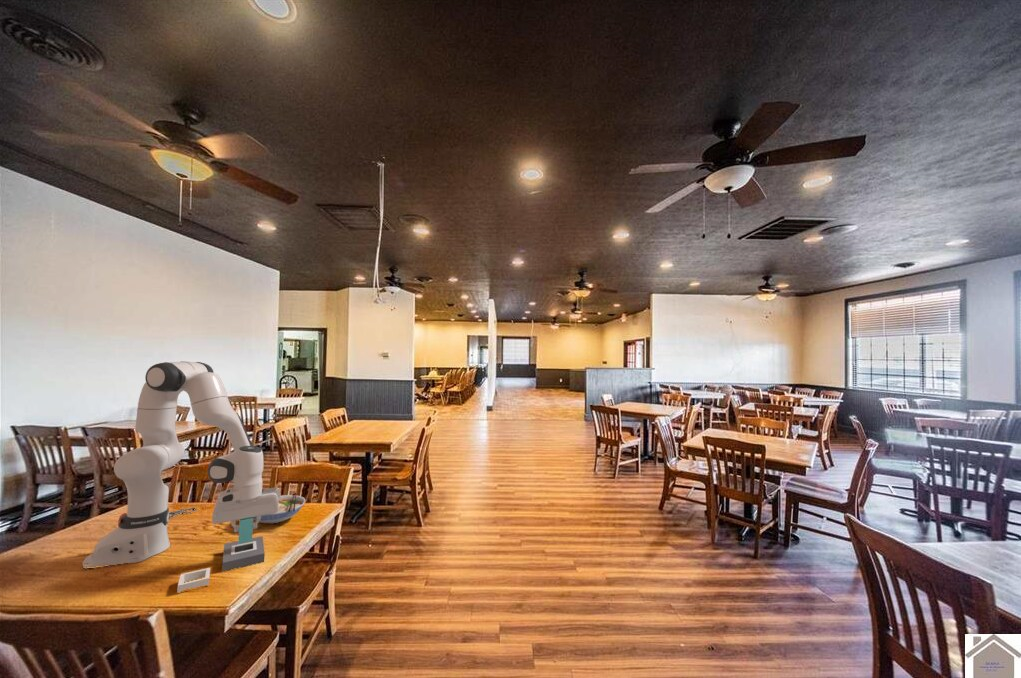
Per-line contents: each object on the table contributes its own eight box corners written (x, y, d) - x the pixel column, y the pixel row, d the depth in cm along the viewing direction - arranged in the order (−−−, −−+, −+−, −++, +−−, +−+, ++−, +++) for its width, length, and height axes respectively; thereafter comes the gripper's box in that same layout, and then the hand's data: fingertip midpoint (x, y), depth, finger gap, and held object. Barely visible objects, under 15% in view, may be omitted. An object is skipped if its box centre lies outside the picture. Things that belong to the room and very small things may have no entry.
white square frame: (177, 594, 116) (177, 585, 117) (180, 582, 122) (180, 574, 123) (208, 586, 121) (208, 578, 121) (209, 575, 127) (210, 567, 127)
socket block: (222, 571, 129) (222, 561, 129) (223, 552, 142) (224, 542, 142) (264, 562, 136) (264, 552, 136) (262, 543, 149) (262, 535, 149)
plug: (238, 543, 136) (239, 521, 137) (238, 539, 140) (239, 517, 140) (252, 540, 139) (253, 518, 139) (251, 536, 142) (252, 514, 142)
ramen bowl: (250, 514, 177) (251, 495, 177) (306, 507, 186) (307, 490, 187) (238, 536, 154) (240, 516, 155) (302, 527, 164) (303, 508, 164)
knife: (135, 534, 152) (114, 530, 154) (134, 538, 152) (114, 534, 154) (202, 508, 180) (185, 505, 181) (202, 512, 180) (184, 508, 181)
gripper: (280, 484, 149) (278, 520, 148) (213, 493, 137) (211, 533, 136) (281, 488, 144) (279, 526, 143) (212, 499, 132) (210, 540, 131)
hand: (245, 529), depth 139 cm, fingers closed on plug, 4 cm apart
